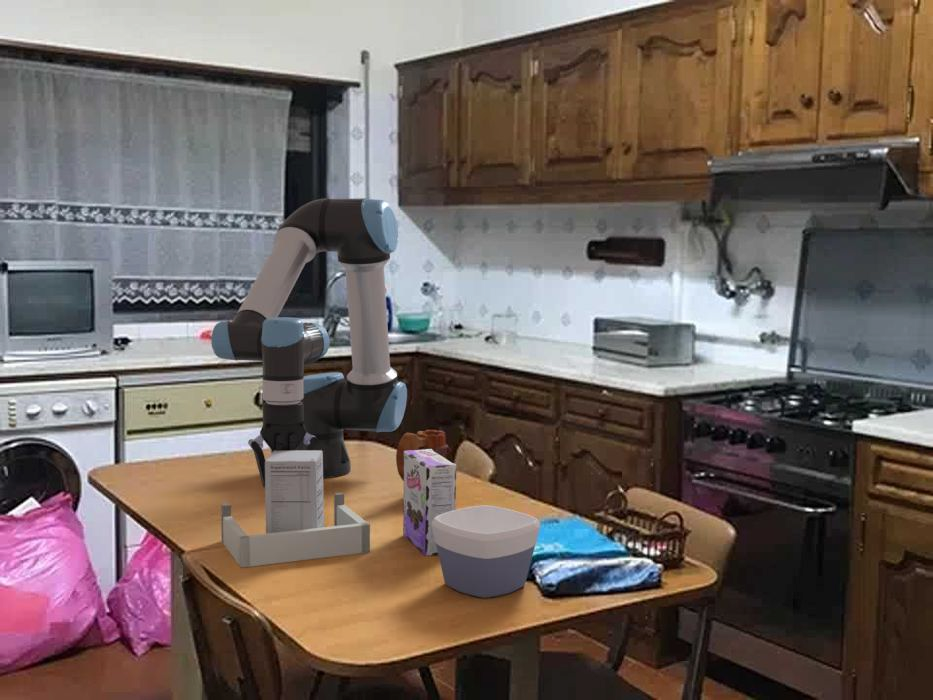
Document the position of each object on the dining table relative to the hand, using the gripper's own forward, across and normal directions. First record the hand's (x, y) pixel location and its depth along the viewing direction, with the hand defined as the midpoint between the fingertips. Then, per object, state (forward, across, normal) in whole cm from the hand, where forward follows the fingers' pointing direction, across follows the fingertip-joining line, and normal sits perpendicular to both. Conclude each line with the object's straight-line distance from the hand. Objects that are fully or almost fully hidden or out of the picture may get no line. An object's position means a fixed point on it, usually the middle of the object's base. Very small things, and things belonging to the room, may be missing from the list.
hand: (284, 525), depth 195 cm
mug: (+2, +34, +15) cm, 37 cm away
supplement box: (+2, 0, -7) cm, 7 cm away
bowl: (+2, +23, -39) cm, 45 cm away
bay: (+2, 0, -7) cm, 7 cm away
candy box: (+2, +23, -15) cm, 28 cm away
